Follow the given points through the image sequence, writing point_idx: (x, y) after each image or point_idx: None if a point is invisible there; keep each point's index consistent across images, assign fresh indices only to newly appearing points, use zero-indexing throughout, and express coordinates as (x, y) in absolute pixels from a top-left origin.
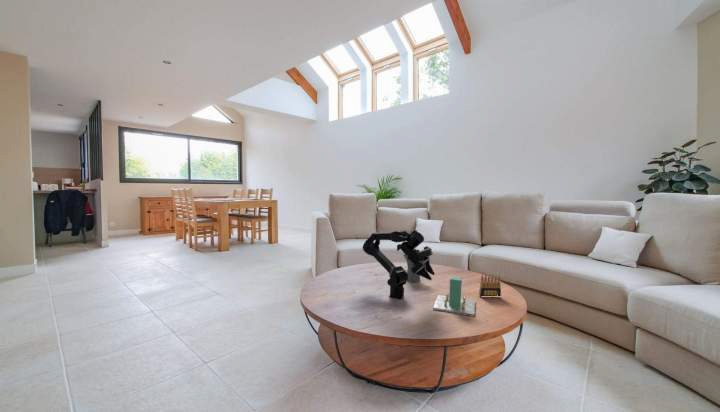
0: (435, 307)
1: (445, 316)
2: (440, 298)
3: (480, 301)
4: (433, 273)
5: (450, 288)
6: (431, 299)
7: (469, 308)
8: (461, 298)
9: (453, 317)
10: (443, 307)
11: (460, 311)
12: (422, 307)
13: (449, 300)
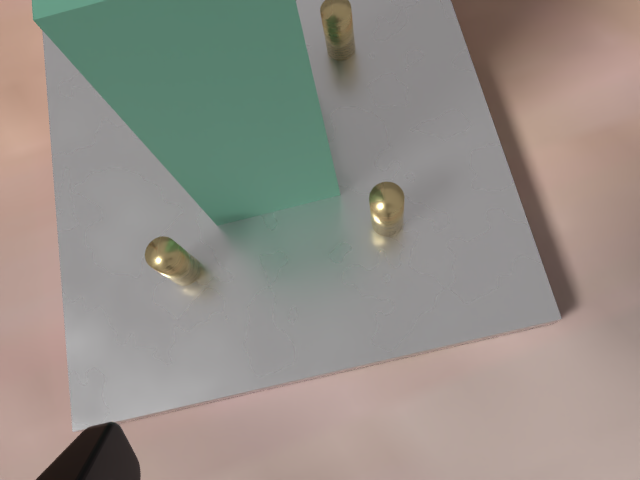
0: (540, 293)
1: (631, 142)
2: (197, 354)
3: (6, 13)
4: (116, 461)
5: (310, 71)
6: (236, 472)
7: (306, 1)
8: (60, 151)
9: (590, 73)
10: (468, 216)
11: (447, 40)
12: (589, 469)
13: (334, 170)
